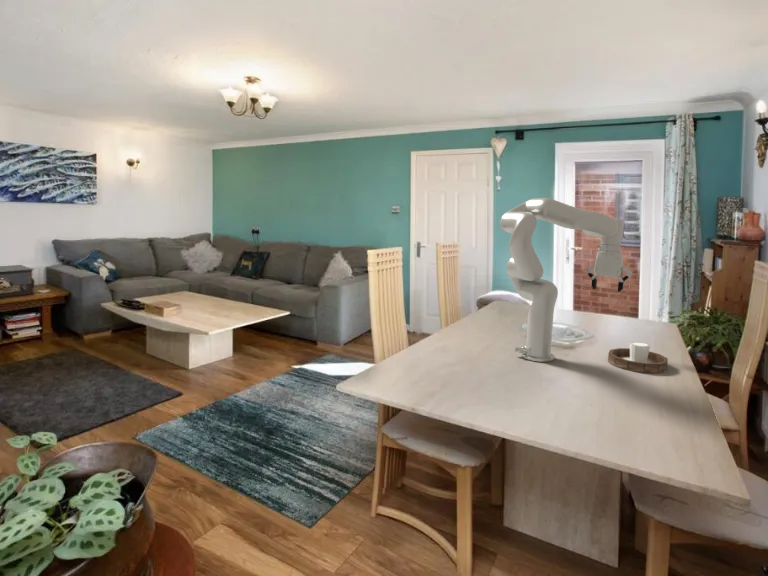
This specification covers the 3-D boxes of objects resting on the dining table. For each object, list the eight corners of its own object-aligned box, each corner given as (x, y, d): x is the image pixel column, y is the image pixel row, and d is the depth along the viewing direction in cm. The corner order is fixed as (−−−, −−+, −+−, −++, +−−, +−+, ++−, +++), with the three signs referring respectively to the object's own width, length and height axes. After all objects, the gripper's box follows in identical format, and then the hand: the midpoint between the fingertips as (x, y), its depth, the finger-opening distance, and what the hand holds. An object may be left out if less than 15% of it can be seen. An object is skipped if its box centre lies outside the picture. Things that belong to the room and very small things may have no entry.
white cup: (651, 365, 173) (652, 347, 171) (631, 363, 174) (633, 345, 173) (644, 359, 179) (646, 342, 178) (625, 358, 180) (627, 341, 179)
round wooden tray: (623, 372, 167) (624, 363, 167) (599, 356, 187) (599, 347, 186) (678, 373, 167) (679, 364, 166) (648, 356, 187) (649, 348, 186)
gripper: (585, 248, 189) (582, 288, 192) (632, 250, 179) (627, 293, 181) (590, 247, 195) (587, 286, 198) (635, 249, 185) (631, 291, 187)
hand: (606, 290), depth 190 cm, fingers open, 9 cm apart
